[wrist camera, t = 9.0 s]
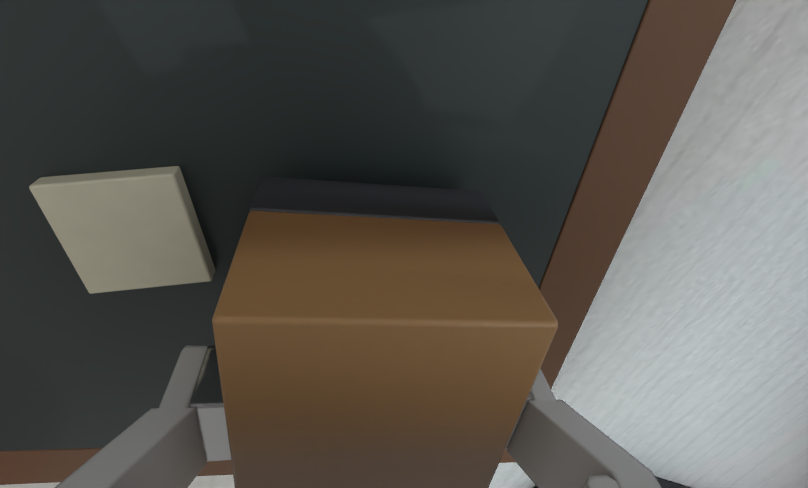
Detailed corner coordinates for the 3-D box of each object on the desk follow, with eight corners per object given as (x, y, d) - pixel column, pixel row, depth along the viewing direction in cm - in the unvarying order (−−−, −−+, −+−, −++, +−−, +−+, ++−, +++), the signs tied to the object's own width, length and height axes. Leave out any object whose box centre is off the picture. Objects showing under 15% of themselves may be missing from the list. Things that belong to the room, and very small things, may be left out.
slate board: (-1056, -571, 5) (-1408, -703, 4) (758, -141, 9) (810, -152, 8) (-130, 458, 16) (-162, 492, 15) (507, 437, 20) (516, 462, 19)
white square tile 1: (39, 176, 10) (26, 186, 9) (180, 164, 10) (173, 173, 10) (97, 282, 11) (88, 294, 11) (216, 270, 12) (211, 282, 11)
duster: (260, 174, 9) (209, 319, 6) (481, 189, 10) (562, 323, 7) (271, 409, 14) (246, 579, 10) (427, 406, 15) (457, 562, 11)
